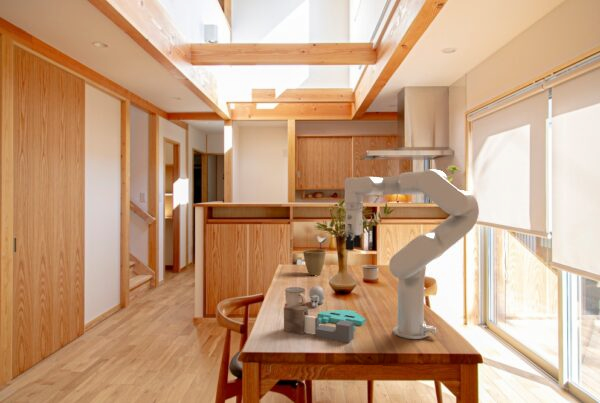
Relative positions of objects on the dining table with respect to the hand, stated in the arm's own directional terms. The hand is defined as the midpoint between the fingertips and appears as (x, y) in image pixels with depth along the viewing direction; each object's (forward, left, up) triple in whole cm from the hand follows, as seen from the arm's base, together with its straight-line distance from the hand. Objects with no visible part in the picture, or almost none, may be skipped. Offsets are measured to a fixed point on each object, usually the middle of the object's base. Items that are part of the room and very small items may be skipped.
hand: (353, 248), depth 158 cm
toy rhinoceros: (+24, -15, -31) cm, 41 cm away
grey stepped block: (0, +21, -30) cm, 37 cm away
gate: (+13, +21, -30) cm, 39 cm away
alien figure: (+5, +2, -31) cm, 31 cm away
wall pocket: (+16, +21, -30) cm, 40 cm away
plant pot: (+53, -78, -31) cm, 99 cm away
